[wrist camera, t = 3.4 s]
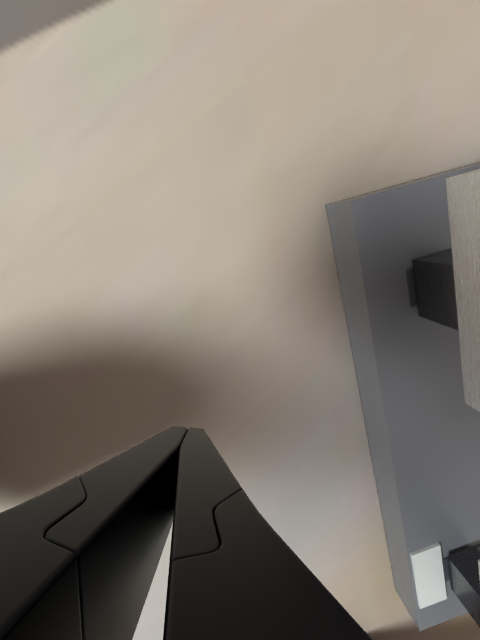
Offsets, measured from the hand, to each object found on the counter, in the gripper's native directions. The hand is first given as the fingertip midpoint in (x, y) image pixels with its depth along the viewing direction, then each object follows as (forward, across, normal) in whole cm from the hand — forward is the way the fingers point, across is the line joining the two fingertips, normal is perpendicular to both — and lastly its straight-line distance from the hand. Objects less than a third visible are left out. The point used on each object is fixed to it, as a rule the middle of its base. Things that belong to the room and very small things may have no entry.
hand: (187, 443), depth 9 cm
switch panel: (+14, +17, -5) cm, 22 cm away
